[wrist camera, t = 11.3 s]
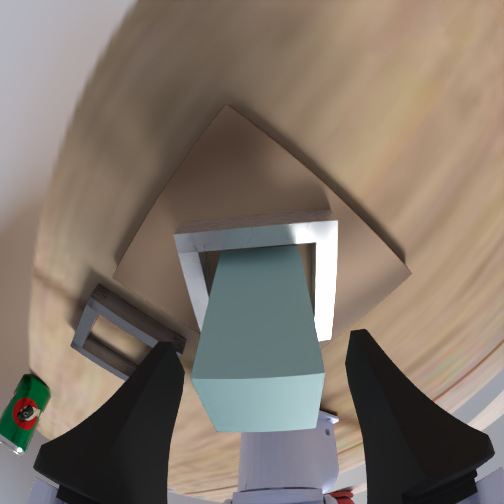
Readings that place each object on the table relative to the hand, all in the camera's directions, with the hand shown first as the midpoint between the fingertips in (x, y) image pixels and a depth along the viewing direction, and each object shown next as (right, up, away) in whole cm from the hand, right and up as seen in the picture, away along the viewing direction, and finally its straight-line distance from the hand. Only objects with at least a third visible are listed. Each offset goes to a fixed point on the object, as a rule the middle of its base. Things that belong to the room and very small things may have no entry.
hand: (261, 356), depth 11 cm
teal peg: (0, +3, +5) cm, 6 cm away
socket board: (0, +3, +6) cm, 7 cm away
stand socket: (-10, -3, +9) cm, 14 cm away
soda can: (-30, -14, +16) cm, 37 cm away
